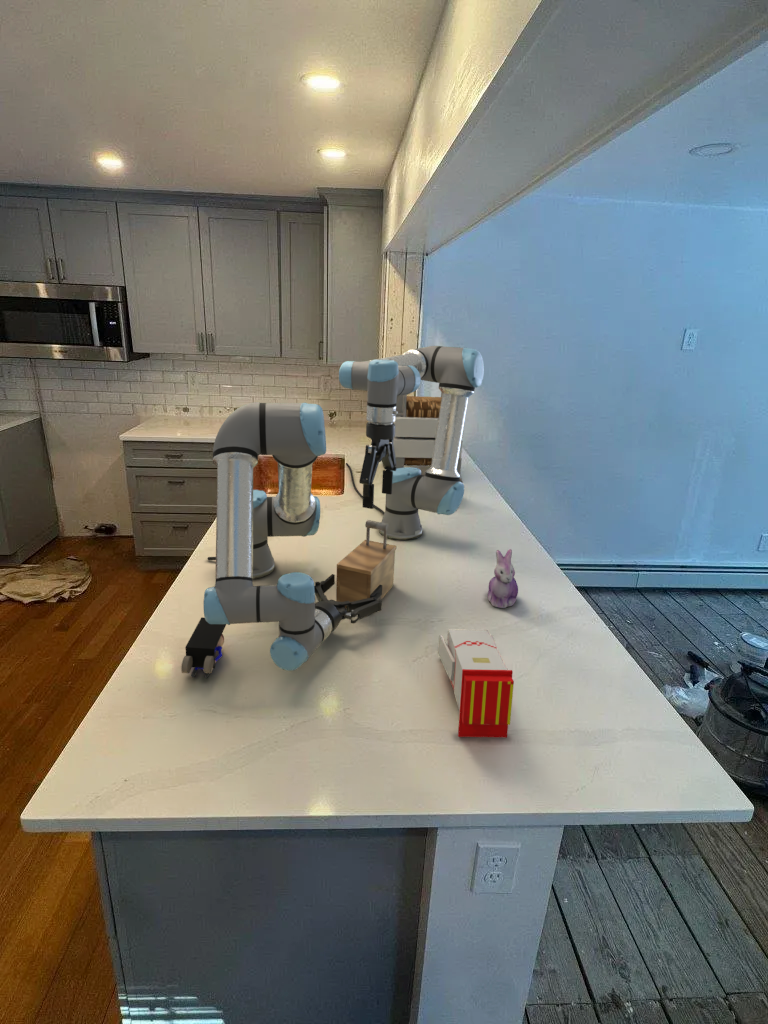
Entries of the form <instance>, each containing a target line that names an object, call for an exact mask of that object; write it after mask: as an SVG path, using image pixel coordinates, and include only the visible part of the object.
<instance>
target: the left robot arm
mask: <svg viewBox="0 0 768 1024" xmlns="http://www.w3.org/2000/svg"><path fill="white" fill-rule="evenodd" d="M326 436H327V435H326V426H325V415H324V410H323V408H322V406H321V405H320V404H316V403H307V402H258V401H257V402H249V403H246V404H243V405H241V406H239V407H238V408H236V409H235V410H233V411H232V412H231V413H230V414H229V415H228V416H227V417H226V418H225V420H224V422H223V423H222V424H221V426H220V428H219V429H218V432H217V434H216V436H215V439H214V442H213V448H212V463H213V464H214V465H215V466H216V468H217V469H216V470H217V471H216V472H217V473H216V474H217V479H216V523H215V525H216V529H215V531H216V532H215V536H216V537H215V556H208V557H207V560H208V561H215V583H214V586H211V587H207V588H206V589H205V591H204V593H203V614H204V615H203V617H204V618H205V620H206V621H207V622H208V623H209V624H226V625H227V626H230V625H235V624H237V625H238V624H255V623H257V624H259V623H278V637H276V638H275V639H274V641H273V642H272V644H271V645H270V649H269V655H270V658H271V660H272V662H273V663H274V664H275V665H276V667H278V668H279V669H281V670H285V671H287V672H292V671H295V670H298V669H299V668H300V667H302V665H303V664H305V663H306V662H307V661H308V660H309V659H310V657H311V656H312V655H313V654H314V653H315V652H316V651H317V649H318V648H319V647H320V646H321V645H322V643H324V642H325V641H326V640H327V638H329V636H330V635H331V634H332V633H333V632H334V631H335V630H336V628H338V626H339V625H340V623H341V621H343V620H345V619H347V620H350V623H351V624H355V623H357V622H358V621H359V620H362V619H364V618H367V617H369V616H371V615H374V614H376V613H378V612H381V611H382V609H383V608H382V606H383V599H382V600H381V595H382V585H379V586H378V587H377V588H376V589H375V590H374V591H373V593H372V594H371V595H370V598H367V599H362V600H357V601H353V602H349V601H344V602H339V601H336V599H335V600H334V599H328V597H327V595H326V594H325V593H326V592H328V590H330V589H331V588H332V587H333V586H334V585H335V584H336V583H335V582H336V581H335V580H336V577H335V576H336V574H334V573H331V574H330V575H329V576H328V577H327V578H326V579H325V580H321V581H314V579H313V578H312V577H311V576H310V575H309V574H307V573H304V572H300V571H293V572H289V573H285V574H282V575H281V576H280V577H279V578H278V580H277V583H276V584H268V585H254V581H253V580H254V579H255V580H256V579H261V578H263V577H266V576H268V575H270V574H272V573H273V572H274V570H275V568H276V567H275V559H274V557H273V554H272V551H271V548H270V546H269V543H268V540H269V539H268V538H270V537H271V538H272V537H303V538H304V537H307V536H309V537H310V536H314V535H316V534H317V533H318V531H319V529H320V520H321V501H320V499H319V497H318V496H316V495H313V493H312V480H313V479H312V478H313V465H314V463H316V460H317V459H318V457H321V456H324V455H325V454H326V453H327V440H326V439H327V437H326ZM259 456H272V457H273V459H274V461H275V462H276V463H277V479H278V481H277V482H278V483H277V484H278V492H277V494H276V495H275V496H268V494H267V493H266V491H264V490H259V489H254V468H255V467H256V466H257V465H259ZM316 599H317V602H316ZM345 606H347V608H345Z"/></svg>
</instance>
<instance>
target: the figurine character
mask: <svg viewBox="0 0 768 1024" xmlns="http://www.w3.org/2000/svg"><path fill="white" fill-rule="evenodd" d="M226 626H227V624H209V623H208V622H207V621H206V620H205V617H204V616H202V617H200V619H199V621H198V623H197V625H196V626H195V628H194V630H193V632H192V634H191V636H190V638H189V639H188V642H187V643H186V645H185V647H184V648H185V655H184V656H183V658H182V662H181V666H180V667H181V668H180V670H181V673H182V674H190V673H191V678H195V677H196V675H197V672H198V670H203V673H204V674H205V675H204V677H205V679H207V678H208V677H209V675H210V674H212V673H213V670H215V669H216V663H217V662H218V661H219V660H220V659H221V658H223V652H222V650H223V645H224V644H225V635H224V634H223V633H224V630H225V628H226ZM216 652H218V655H216ZM192 668H193V670H192ZM191 670H192V672H191Z"/></svg>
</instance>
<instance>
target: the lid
mask: <svg viewBox="0 0 768 1024" xmlns="http://www.w3.org/2000/svg"><path fill="white" fill-rule="evenodd" d="M365 528H366V535H365V536H366V539H364V540H363V541H362V542H361V543H360V544H358V545H356V547H355V548H354V549H353V550H351V551H350V552H349V553H348V554H347V555H346V556H344V558H342V559H341V560H340V561H339V562H338V563H336V569H337V568H341V569H345V570H350V571H355V572H359V573H364V574H368V575H371V574H372V573H373V572H374V571H375V570H376V569H377V568H378V567H379V566H380V565H381V564H382V563H383V562H384V561H385V560H386V559H387V558H388V557H389V556H390V555H391V554H392V553H393V552H394V551H395V552H396V550H397V545H394V544H390V543H387V539H388V538H387V530H388V528H389V524H387V523H382V521H377V520H376V521H375V520H370V519H367V520H366V521H365ZM371 529H373V530H378V531H379V530H383V531H384V536H383V542H379V541H373V540H371V539H370V537H371Z"/></svg>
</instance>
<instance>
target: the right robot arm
mask: <svg viewBox="0 0 768 1024" xmlns="http://www.w3.org/2000/svg"><path fill="white" fill-rule="evenodd" d="M484 377H485V365H484V359H483V356H482V354H481V352H480V351H479V350H477V349H475V348H469V347H460V346H459V347H458V346H457V347H456V346H443V345H430V346H423V347H418V348H414V349H409V350H407V351H405V352H404V353H403V354H399V355H398V354H397V355H392V356H389V357H382V358H377V359H370V360H365V361H356V360H346V361H343V363H341V365H340V367H339V371H338V380H339V383H340V385H341V387H343V388H345V389H349V390H352V391H354V390H355V391H366V392H367V394H366V395H367V401H366V416H365V417H366V418H365V419H366V421H367V422H366V423H365V436H366V437H367V438H368V439H370V440H371V442H370V444H366V445H365V450H364V453H365V454H364V458H363V462H362V468H361V471H360V476H359V481H358V482H359V484H361V485H362V493H361V492H360V491H359V490H358V487H357V485H356V483H355V480H354V475H353V473H354V472H353V470H352V467H351V466H350V465H349V463H347V462H346V463H345V465H346V466H347V468H348V469H349V472H350V477H351V478H350V479H351V483H352V486H353V489H354V490H355V492H356V493H357V494H358V496H359V497H360V498H361V499H362V508H365V509H370V510H373V509H374V508H375V509H376V510H378V511H379V512H380V513H381V514H382V519H381V522H382V523H387V524H389V528H388V530H387V539H389V540H395V541H410V540H415V539H418V538H420V537H421V536H422V535H423V525H422V524H421V518H420V515H419V510H421V511H426V512H429V513H435V514H437V515H443V516H444V515H445V516H451V515H453V514H454V513H456V512H457V510H458V509H459V508H460V506H461V504H462V502H463V499H464V495H465V485H464V483H462V482H459V481H460V478H461V474H460V475H459V474H458V472H457V465H458V459H459V452H460V446H461V440H462V441H463V438H462V434H463V435H464V432H463V428H464V429H465V421H466V415H467V408H468V403H469V398H470V397H471V396H472V395H474V394H475V389H476V388H479V387H480V386H482V384H483V381H484ZM422 381H424V382H430V383H436V384H437V383H438V390H439V391H440V393H441V392H442V399H441V406H440V412H439V418H438V425H437V431H436V438H435V444H434V450H433V457H432V463H431V465H430V466H429V468H427V469H426V470H425V473H424V474H422V470H421V468H419V467H414V466H411V467H409V466H406V467H404V468H397V469H396V458H395V451H394V444H393V441H394V437H395V424H394V423H393V422H395V418H396V415H397V413H398V412H397V411H396V401H397V396H401V395H407V396H409V395H410V394H412V393H414V392H416V391H417V390H418V389H419V387H420V386H421V382H422ZM392 461H393V462H392ZM380 463H382V466H383V469H384V470H382V481H381V494H385V504H384V505H385V507H384V508H385V509H384V510H383V509H381V508H380V507H378V506H377V505H375V504H374V502H375V501H374V499H375V497H374V496H375V495H374V494H375V483H374V480H375V477H376V474H377V472H378V471H377V470H378V467H379V464H380ZM378 533H379V534H380V535H381V536H382V537H384V531H383V530H378Z"/></svg>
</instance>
